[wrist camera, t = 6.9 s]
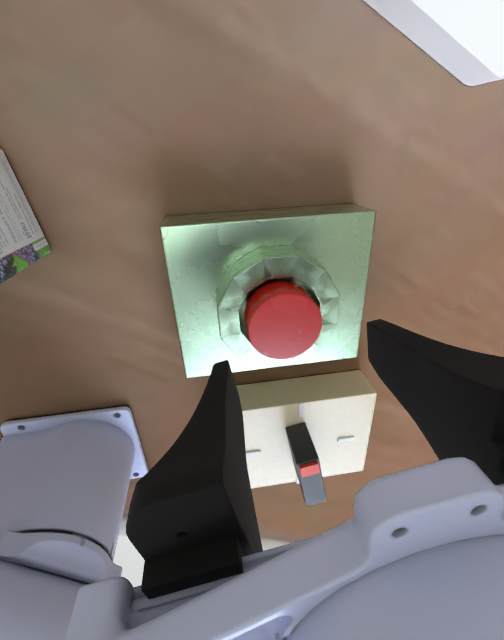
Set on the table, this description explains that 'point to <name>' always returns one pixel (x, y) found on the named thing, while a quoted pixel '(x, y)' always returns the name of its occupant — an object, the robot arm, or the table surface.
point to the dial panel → (320, 417)
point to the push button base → (265, 278)
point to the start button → (282, 320)
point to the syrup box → (17, 226)
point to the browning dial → (306, 463)
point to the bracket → (453, 33)
